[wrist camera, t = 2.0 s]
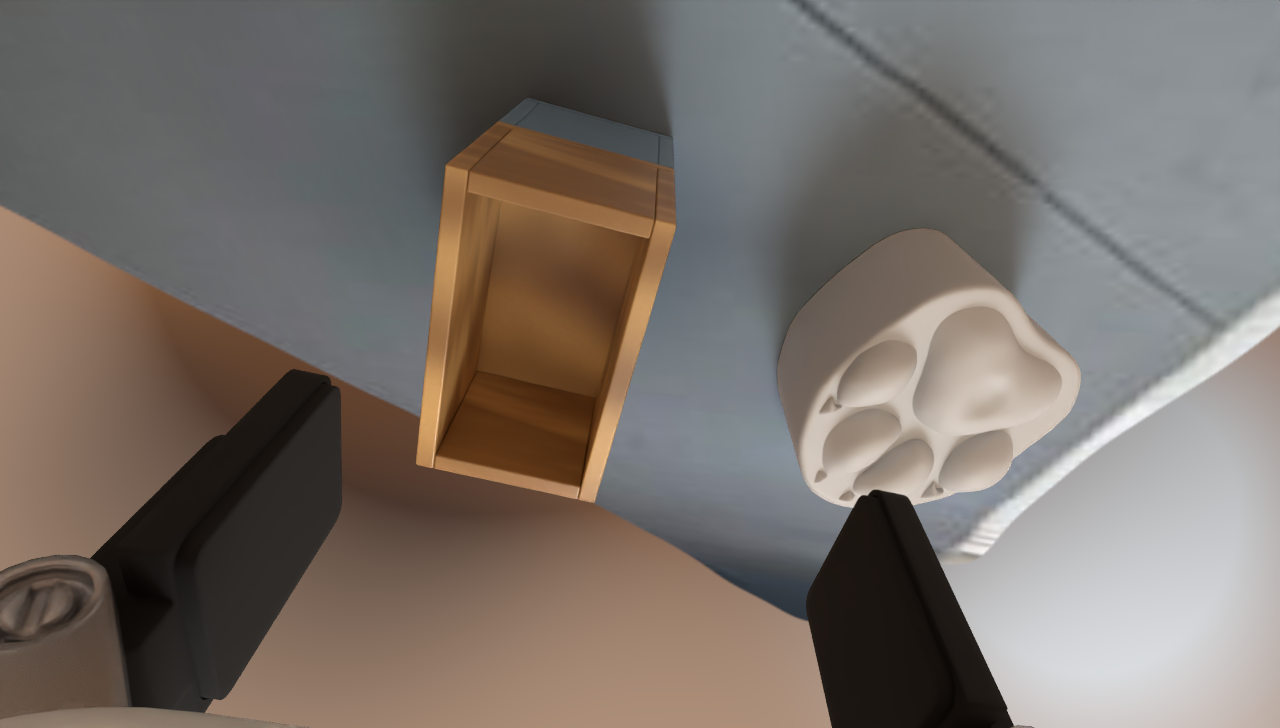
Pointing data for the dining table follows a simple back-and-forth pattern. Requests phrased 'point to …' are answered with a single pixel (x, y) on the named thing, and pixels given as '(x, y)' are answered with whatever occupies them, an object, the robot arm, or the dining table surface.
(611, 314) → the wooden basket
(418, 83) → the dining table surface
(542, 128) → the blue basket
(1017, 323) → the lumpy-topped squat cylinder
